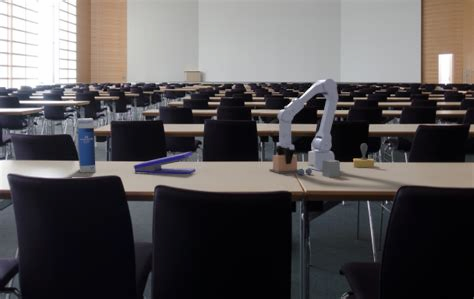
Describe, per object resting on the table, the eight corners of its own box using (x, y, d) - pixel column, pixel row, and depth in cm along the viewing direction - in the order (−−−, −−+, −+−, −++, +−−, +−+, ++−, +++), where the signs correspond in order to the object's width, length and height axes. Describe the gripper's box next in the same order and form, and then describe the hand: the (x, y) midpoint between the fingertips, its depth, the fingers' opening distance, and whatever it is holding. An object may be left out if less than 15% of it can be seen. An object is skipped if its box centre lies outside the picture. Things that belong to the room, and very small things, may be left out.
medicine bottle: (314, 163, 280) (314, 140, 279) (326, 164, 276) (326, 141, 275) (307, 165, 275) (308, 142, 273) (320, 166, 271) (320, 142, 269)
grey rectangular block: (332, 174, 245) (333, 159, 244) (339, 176, 240) (339, 161, 239) (322, 175, 243) (322, 160, 242) (328, 177, 238) (329, 161, 237)
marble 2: (309, 173, 248) (309, 167, 248) (313, 174, 245) (313, 168, 245) (304, 174, 247) (304, 167, 247) (307, 175, 244) (307, 168, 244)
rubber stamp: (373, 166, 270) (373, 142, 269) (373, 167, 265) (374, 143, 263) (353, 165, 272) (353, 142, 271) (353, 167, 267) (354, 143, 265)
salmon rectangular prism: (291, 168, 259) (291, 154, 259) (296, 170, 254) (297, 155, 253) (273, 169, 256) (273, 155, 255) (278, 171, 250) (278, 156, 250)
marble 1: (302, 174, 247) (302, 168, 246) (305, 175, 244) (305, 168, 244) (296, 174, 246) (296, 168, 245) (299, 175, 243) (299, 169, 242)
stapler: (188, 175, 250) (188, 154, 249) (133, 173, 256) (132, 153, 255) (195, 171, 261) (195, 151, 260) (142, 169, 267) (141, 150, 266)
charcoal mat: (291, 169, 262) (291, 167, 262) (301, 172, 253) (301, 170, 253) (269, 170, 257) (269, 169, 257) (278, 174, 248) (278, 172, 248)
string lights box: (96, 172, 258) (93, 119, 255) (79, 173, 256) (77, 119, 253) (94, 168, 271) (92, 117, 268) (79, 169, 269) (76, 118, 266)
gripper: (270, 133, 258) (271, 161, 260) (284, 136, 245) (284, 165, 246) (283, 133, 261) (283, 160, 262) (298, 135, 247) (298, 164, 249)
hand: (285, 162), depth 255 cm, fingers open, 6 cm apart
